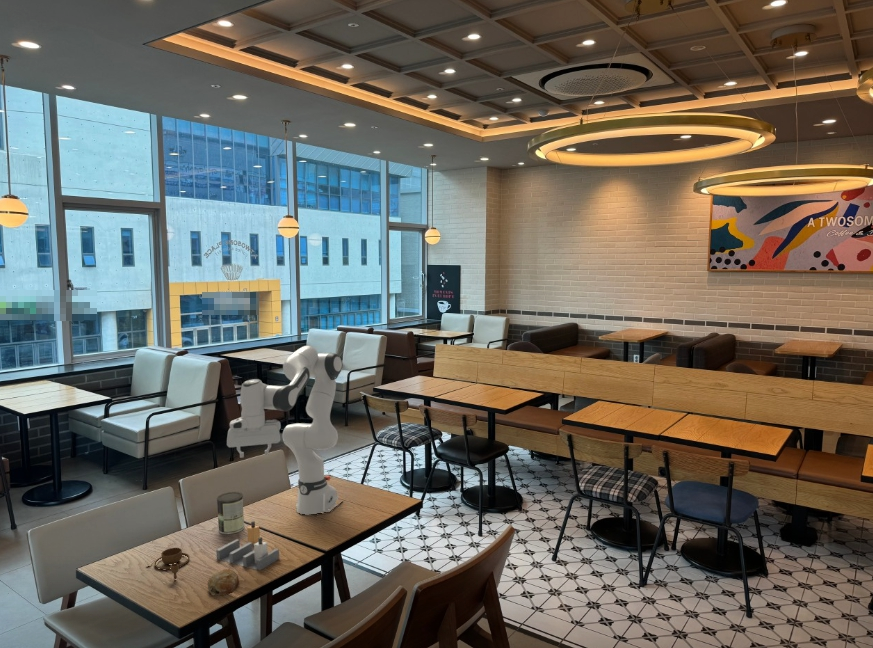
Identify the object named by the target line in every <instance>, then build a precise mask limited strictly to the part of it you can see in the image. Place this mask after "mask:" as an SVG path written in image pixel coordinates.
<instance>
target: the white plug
mask: <svg viewBox="0 0 873 648" xmlns="http://www.w3.org/2000/svg"><path fill="white" fill-rule="evenodd" d="M253 550H254V556H255V563H257V562H256V560H257V559H259V558H261V557H262V556H264V555H266V554H267V553H269V552H268V542H265V541H263V537H262V536H260V538H258V542H257V543H255V544H253Z"/></svg>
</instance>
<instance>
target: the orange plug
mask: <svg viewBox="0 0 873 648" xmlns="http://www.w3.org/2000/svg"><path fill="white" fill-rule="evenodd" d="M246 533H247V535H246V536H247V543H249V542H250V543H252V545H254V544H255V543H257V542H258V538H260V537H261V532H260V525H256V522H255V521H253V520H252V521H251V522H250V525H248V526H247V528H246Z"/></svg>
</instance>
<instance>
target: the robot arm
mask: <svg viewBox="0 0 873 648" xmlns="http://www.w3.org/2000/svg"><path fill="white" fill-rule="evenodd" d="M342 369H343V360H342V357H341V356H340V355H339V354H338V353H334V352H329V353H327V352H320V353H319V352H318V351H317V349H316V348H315V347H313V346H311V345H303V346H301V347H300V348H297V350H294V351H293V352H292V353H291V354H290V355H289V356H288V357H287V358H286V359H285V360H284V362H283V364H282V370H283V373H284V375H285V377H286V378H287V379H288V380H290V383H289V384H287V385H271V384H270V385H269V384H266V383H263V382H262V380H261V379H259V378H254V379H253V378H252V379H248V380H246V381H244V382H243V383H242V384H241V388H240V406H241V412H240V417H238V418H236V419H233V420H231V421H230V422H229V429H228V431H227V437H226V446H227V447H228V448H236V451H237V452H238V453H239V458H240V459H241V458H245V454H244V451H242V450H241V447H248V446H250V447H251V446H258V445H259V446H260V445H267V448H266V449H265V450H264V456H269V455H270V450H271V448H272V444H279V443H280V442H281V437H282V440H283V443H284V445H285V446H287V447H288V448H289V449H290V450H291V452H292V453H293V455H294V457H295V459H296V462H297V466H298V469H297V470H298V480H297V482H298V483H297V485H298V486H297V487H298V490H297V500H296V504H295V508H296V512H297V513H298V514H299V513H300V515H302V514H305V515H304V516H310V515H309V514H316V513H321V512H329V511H331V510H332V509H333V508H334V507H335V506H336V505H337V504H336V503H335V502H336V500H338V497H339V496H338V491H337V489H336V488H335V487H333V486H332V485H330V484H328V482H327V481H330V480H331V476H330V475H325V464H324V463H325V462H324V460H323V458H322V457H320V456H319V455H318V454H316V451H314V450H320V451H321V450H330V449H333V448H334V447H335V446H336V445H337V443H338V440H339V432H338V431H337V429H336V427H335V426H334V425H333V424H332V422H331V411H332V407H333V403H334V400H335V395H336V389H337V381H336V380H337V378H338V377H339V375H340V374H341V372H342ZM310 378H314V384H313V386H312V388H311V389H310V390H311V391H310V394H309V397H308V399H307V403H306V406H305V412H306V414H307V415H308V416H309V417H310V418H312V422H311V423H305V422H301V423H299V422H296V423H291V424H287V425H286V426H285V427H284V429H283V431H282V436H281V433H280V429H281V428H282V425H281V422H280V421H279V420H277V419H267V420H266V419H265V418H266V417H265V415H266V414H265V413H266V412H265V410H273V411H274V410H275V411H282V412H289V411H291V410H292V409H293V408H294V406H295V405H296V403H297V400H298V398H299V396H300V395H301V393H302V391H303V390H304V388H305V387H306V386H307V383H308V382H309V380H310ZM328 509H330V510H328ZM332 511H333V510H332ZM332 511H331V512H332Z"/></svg>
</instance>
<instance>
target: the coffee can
mask: <svg viewBox="0 0 873 648" xmlns="http://www.w3.org/2000/svg"><path fill="white" fill-rule="evenodd" d="M243 497H244V494H243V493H241V492H239V491H237V492H236V491H231V492H224V493H222V494H220V495H218V496H217V497H216V503H217V518H218V519H217V520H218V533H219V534H222V535H233V534H236V533H240V532H241V531H243V530H244V529H245V516H244V498H243Z"/></svg>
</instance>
